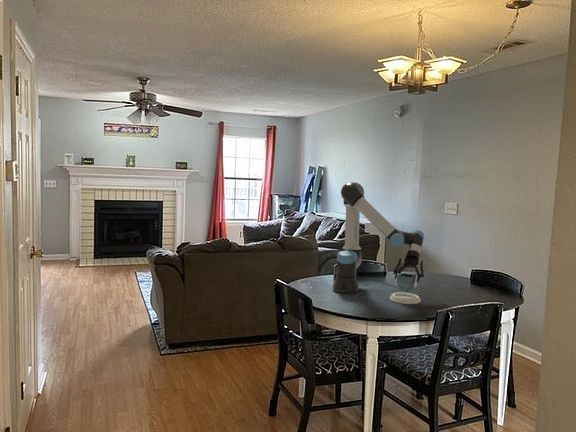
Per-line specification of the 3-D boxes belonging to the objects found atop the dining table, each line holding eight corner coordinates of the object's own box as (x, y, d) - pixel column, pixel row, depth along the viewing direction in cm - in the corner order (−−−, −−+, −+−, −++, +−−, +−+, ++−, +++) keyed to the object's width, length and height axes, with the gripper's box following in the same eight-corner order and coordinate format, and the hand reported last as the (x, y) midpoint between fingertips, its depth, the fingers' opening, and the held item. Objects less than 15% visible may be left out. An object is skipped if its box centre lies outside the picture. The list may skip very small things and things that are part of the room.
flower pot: (402, 288, 284) (403, 273, 284) (417, 291, 279) (417, 275, 278) (395, 290, 278) (396, 275, 277) (410, 293, 272) (411, 277, 271)
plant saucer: (403, 305, 267) (403, 300, 267) (383, 297, 282) (383, 293, 282) (427, 302, 275) (427, 298, 275) (406, 295, 290) (406, 291, 290)
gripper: (433, 259, 285) (426, 291, 273) (395, 255, 295) (386, 286, 283) (432, 251, 280) (425, 284, 267) (393, 247, 290) (384, 278, 277)
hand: (405, 285), depth 275 cm, fingers closed on flower pot, 10 cm apart
